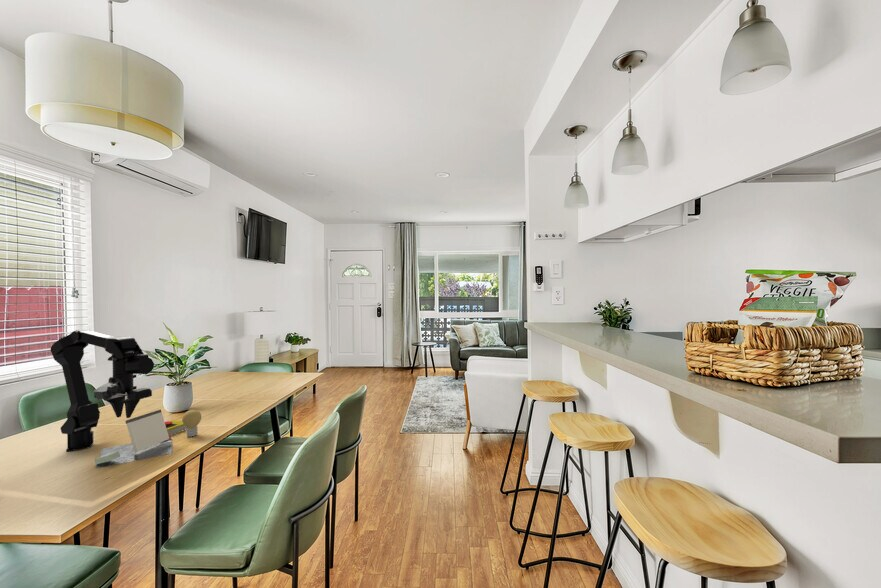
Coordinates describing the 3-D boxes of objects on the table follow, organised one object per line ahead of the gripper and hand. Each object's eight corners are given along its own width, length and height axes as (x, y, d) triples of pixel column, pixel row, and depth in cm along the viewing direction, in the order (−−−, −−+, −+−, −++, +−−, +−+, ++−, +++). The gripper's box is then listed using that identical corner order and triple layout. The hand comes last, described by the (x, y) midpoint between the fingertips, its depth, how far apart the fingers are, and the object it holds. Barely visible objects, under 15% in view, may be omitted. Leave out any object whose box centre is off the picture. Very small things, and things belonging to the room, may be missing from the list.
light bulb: (203, 432, 160) (202, 407, 160) (199, 437, 154) (199, 411, 154) (184, 434, 158) (184, 408, 158) (180, 439, 152) (180, 413, 152)
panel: (95, 471, 125) (95, 463, 125) (102, 451, 141) (102, 444, 141) (173, 456, 137) (173, 448, 137) (171, 438, 153) (171, 432, 153)
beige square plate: (134, 452, 133) (125, 420, 133) (166, 439, 144) (157, 410, 145) (137, 451, 132) (128, 419, 133) (169, 438, 144) (160, 409, 145)
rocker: (95, 464, 128) (94, 458, 128) (108, 459, 132) (107, 453, 132) (107, 461, 127) (106, 456, 127) (120, 456, 131) (118, 451, 131)
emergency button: (141, 426, 156) (178, 415, 170) (142, 437, 156) (178, 425, 170) (158, 429, 153) (194, 417, 167) (159, 440, 153) (194, 428, 167)
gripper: (77, 377, 135) (77, 423, 135) (121, 379, 131) (122, 426, 131) (110, 370, 146) (111, 413, 146) (152, 372, 142) (153, 416, 142)
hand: (123, 417), depth 141 cm, fingers open, 4 cm apart
